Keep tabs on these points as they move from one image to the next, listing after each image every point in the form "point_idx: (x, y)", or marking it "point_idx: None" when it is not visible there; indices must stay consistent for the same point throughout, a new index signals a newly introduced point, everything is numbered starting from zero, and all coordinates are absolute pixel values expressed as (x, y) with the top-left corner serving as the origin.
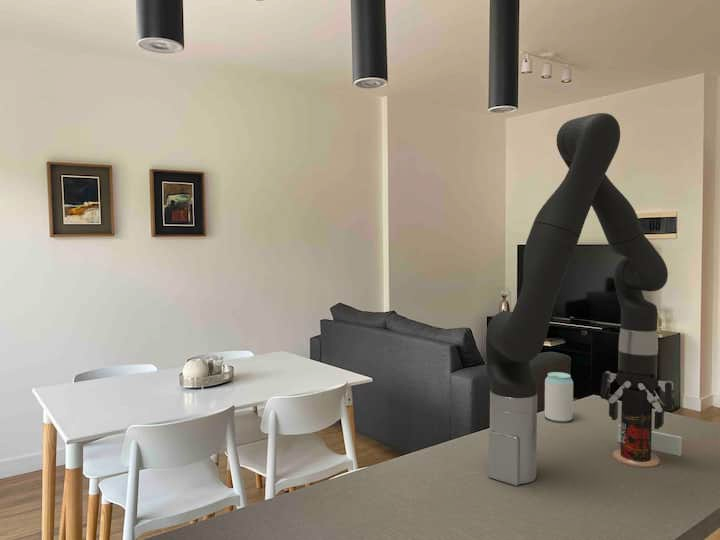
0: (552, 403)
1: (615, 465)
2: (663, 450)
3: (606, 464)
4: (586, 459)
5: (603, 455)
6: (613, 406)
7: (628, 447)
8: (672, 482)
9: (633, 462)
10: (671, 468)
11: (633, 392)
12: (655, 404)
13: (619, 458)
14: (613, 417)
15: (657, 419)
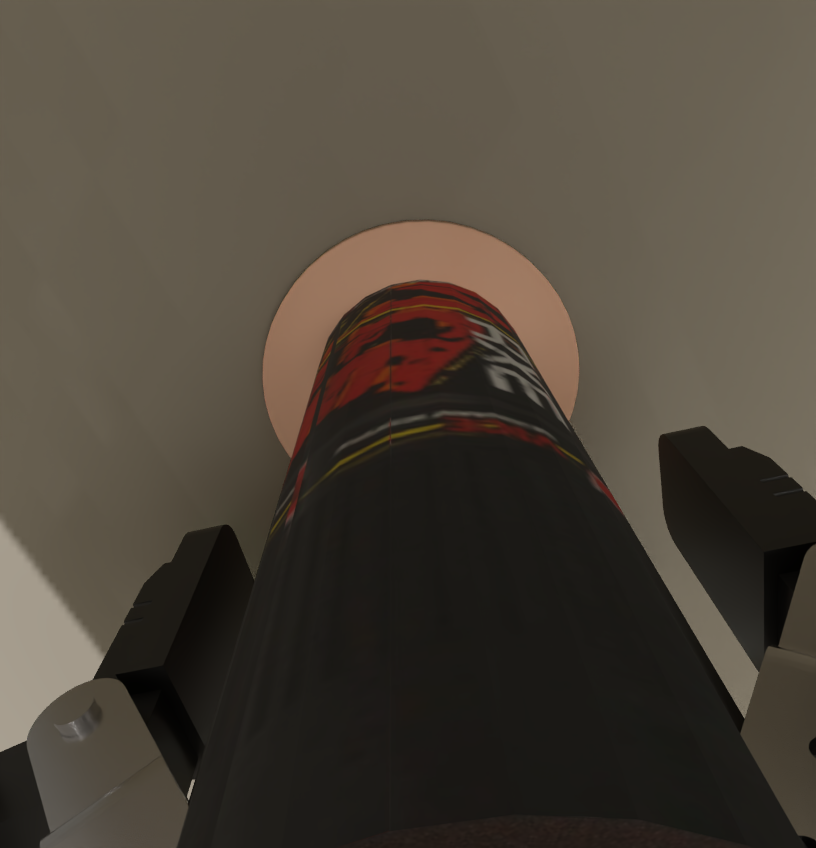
0: None
1: (460, 131)
2: None
3: (518, 86)
4: (687, 42)
5: (617, 252)
6: (770, 521)
7: (431, 304)
8: (30, 179)
9: (370, 255)
10: (190, 415)
11: (413, 795)
12: (103, 774)
13: (482, 245)
14: (689, 439)
15: (156, 597)
